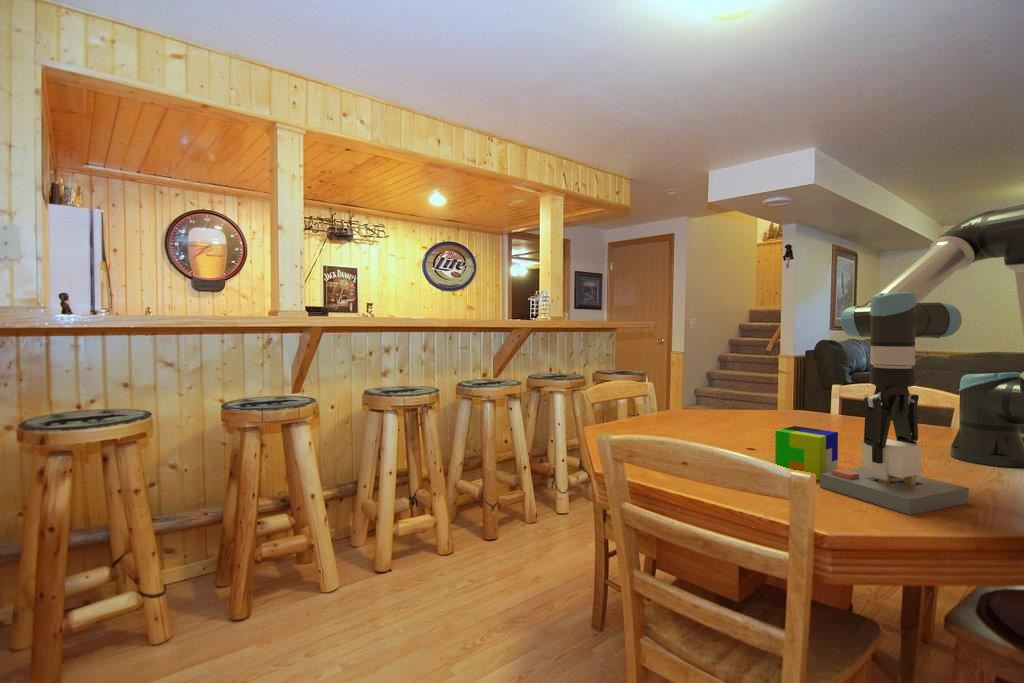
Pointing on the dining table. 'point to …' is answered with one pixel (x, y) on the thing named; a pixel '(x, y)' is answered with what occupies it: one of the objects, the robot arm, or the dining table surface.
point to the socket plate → (895, 491)
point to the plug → (897, 460)
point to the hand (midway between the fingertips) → (890, 476)
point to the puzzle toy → (807, 449)
